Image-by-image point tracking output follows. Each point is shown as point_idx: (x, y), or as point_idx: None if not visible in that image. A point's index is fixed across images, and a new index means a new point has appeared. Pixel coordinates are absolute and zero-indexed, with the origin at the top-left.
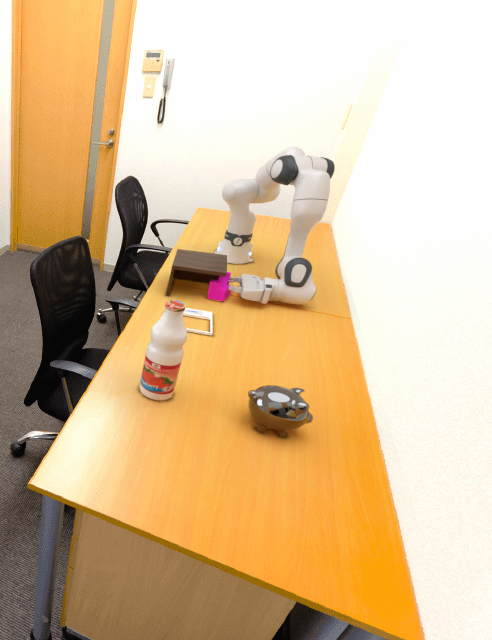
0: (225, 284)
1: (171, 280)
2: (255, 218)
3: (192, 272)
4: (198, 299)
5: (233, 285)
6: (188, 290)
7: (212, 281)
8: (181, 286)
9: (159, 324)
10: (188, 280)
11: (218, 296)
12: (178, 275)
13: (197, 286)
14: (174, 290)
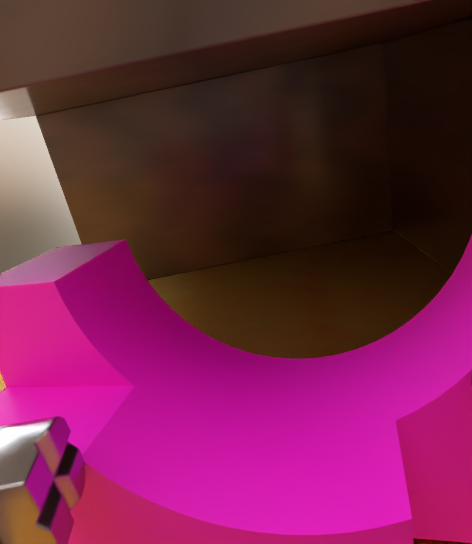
0: (394, 413)
1: (65, 193)
2: None
3: (443, 197)
4: None
5: (26, 473)
6: (239, 309)
7: (50, 254)
8: (287, 276)
9: None
10: (436, 261)
11: None
12: (401, 213)
13: (368, 316)
14: (197, 279)
